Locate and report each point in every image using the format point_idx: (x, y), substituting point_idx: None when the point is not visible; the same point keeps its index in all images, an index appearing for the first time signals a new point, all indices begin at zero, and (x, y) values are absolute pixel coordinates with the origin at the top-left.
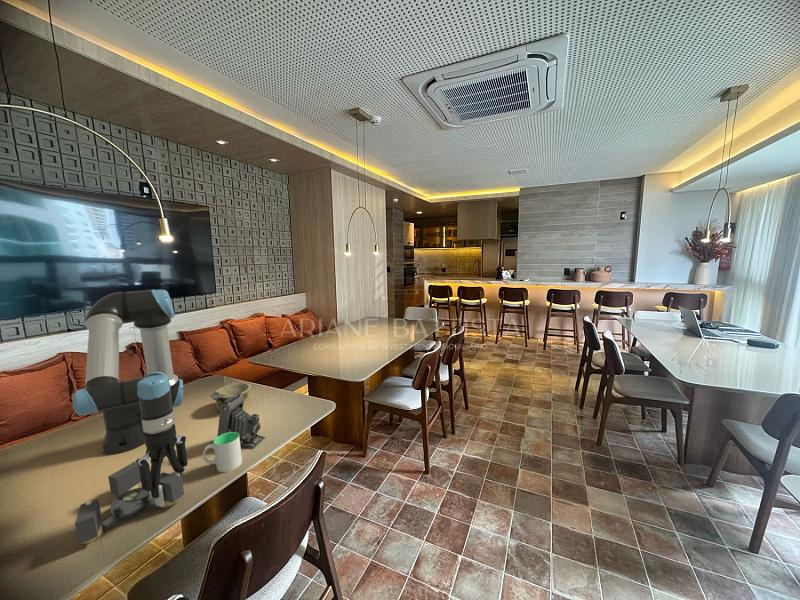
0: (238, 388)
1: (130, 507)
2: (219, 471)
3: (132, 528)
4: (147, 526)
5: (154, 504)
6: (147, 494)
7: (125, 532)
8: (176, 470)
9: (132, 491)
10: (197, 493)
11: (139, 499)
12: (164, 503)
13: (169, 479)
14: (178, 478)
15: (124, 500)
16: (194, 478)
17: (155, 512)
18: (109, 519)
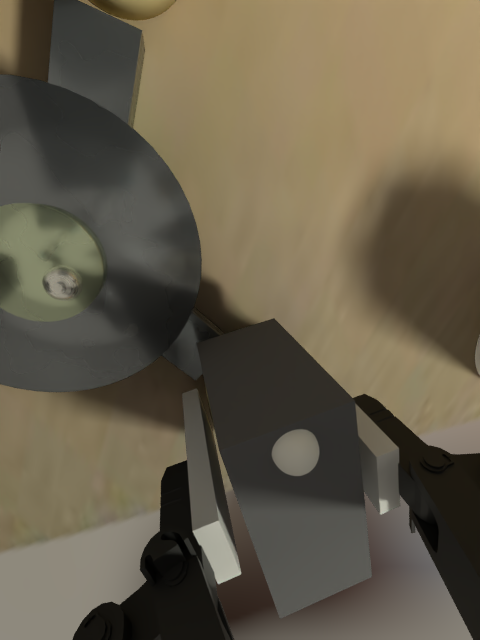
0: None
1: (31, 386)
2: (476, 347)
3: (48, 434)
4: (109, 471)
5: (182, 369)
6: (168, 338)
7: (12, 437)
8: (415, 498)
9: (86, 147)
10: None
11: (106, 349)
12: (213, 439)
13: (311, 559)
14: (348, 582)
15: None
16: (409, 288)
17: (168, 403)
18: None
